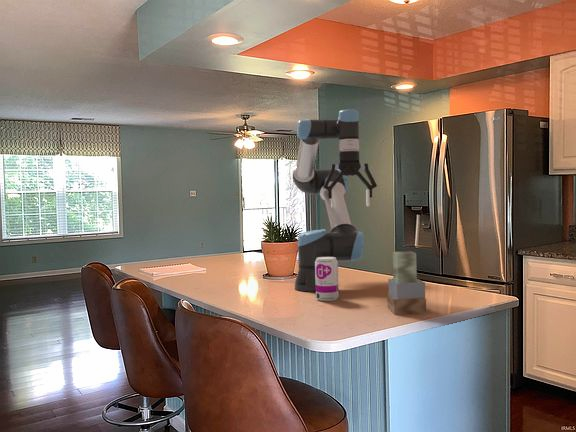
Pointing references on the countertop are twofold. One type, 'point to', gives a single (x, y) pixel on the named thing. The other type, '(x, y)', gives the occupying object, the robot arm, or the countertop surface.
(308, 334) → the countertop surface
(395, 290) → the block
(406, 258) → the pillar block
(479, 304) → the countertop surface
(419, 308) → the tower base
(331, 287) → the supplement can
